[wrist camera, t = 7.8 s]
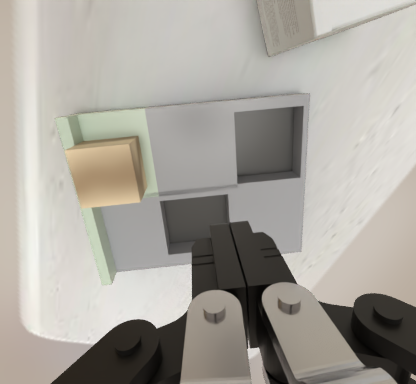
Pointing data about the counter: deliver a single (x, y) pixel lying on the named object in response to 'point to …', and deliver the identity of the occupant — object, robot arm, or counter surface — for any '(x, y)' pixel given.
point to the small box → (317, 19)
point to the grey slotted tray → (199, 177)
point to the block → (107, 171)
